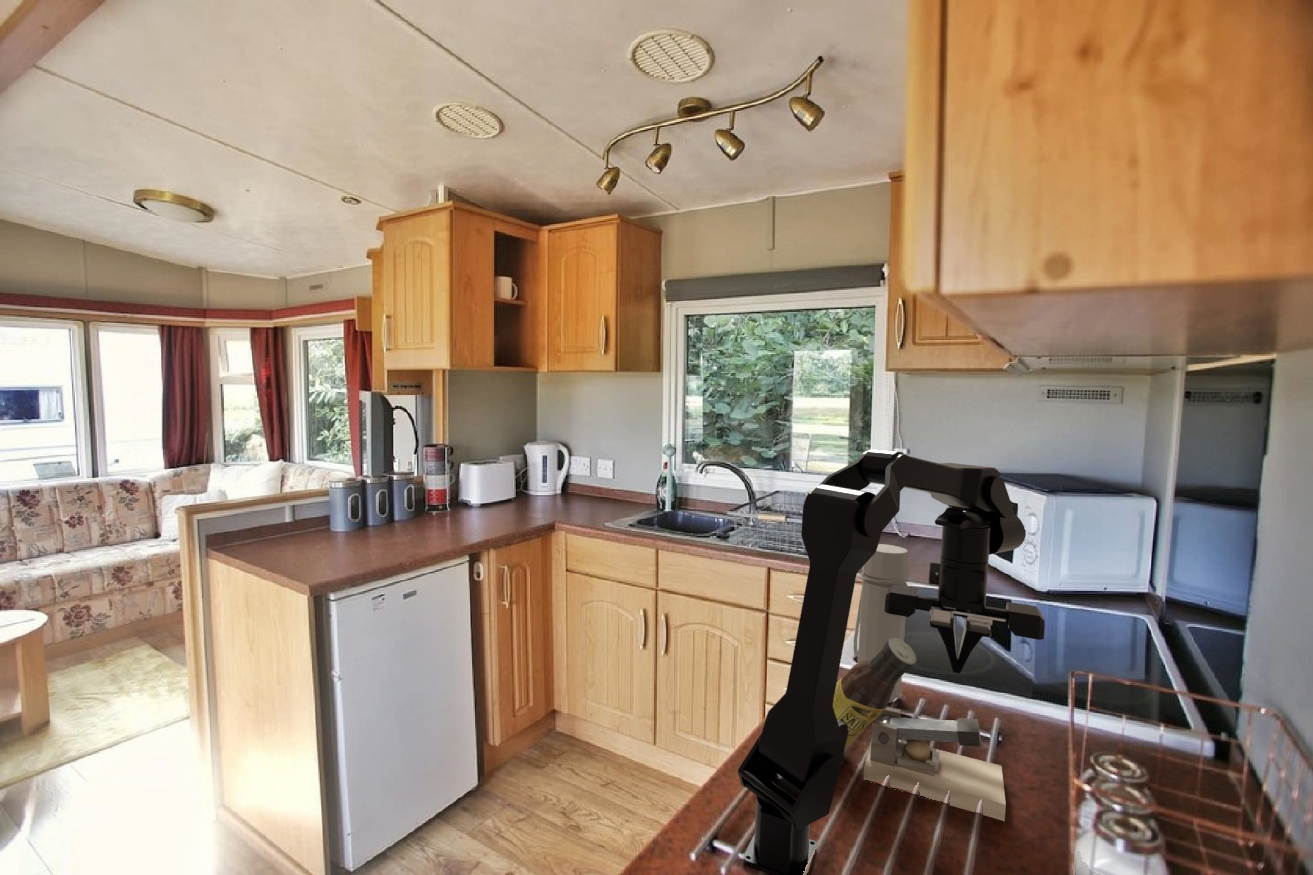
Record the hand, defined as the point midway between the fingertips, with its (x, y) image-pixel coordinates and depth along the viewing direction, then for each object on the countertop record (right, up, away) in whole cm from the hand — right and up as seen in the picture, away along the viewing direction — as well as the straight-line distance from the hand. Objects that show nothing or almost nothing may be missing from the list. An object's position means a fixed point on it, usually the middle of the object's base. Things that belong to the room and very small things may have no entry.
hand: (956, 672), depth 84 cm
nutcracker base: (-5, -13, -3) cm, 14 cm away
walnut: (-6, -9, -2) cm, 11 cm away
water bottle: (-4, -12, +21) cm, 25 cm away
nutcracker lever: (-5, -7, -3) cm, 9 cm away
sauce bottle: (-17, -11, +4) cm, 21 cm away
